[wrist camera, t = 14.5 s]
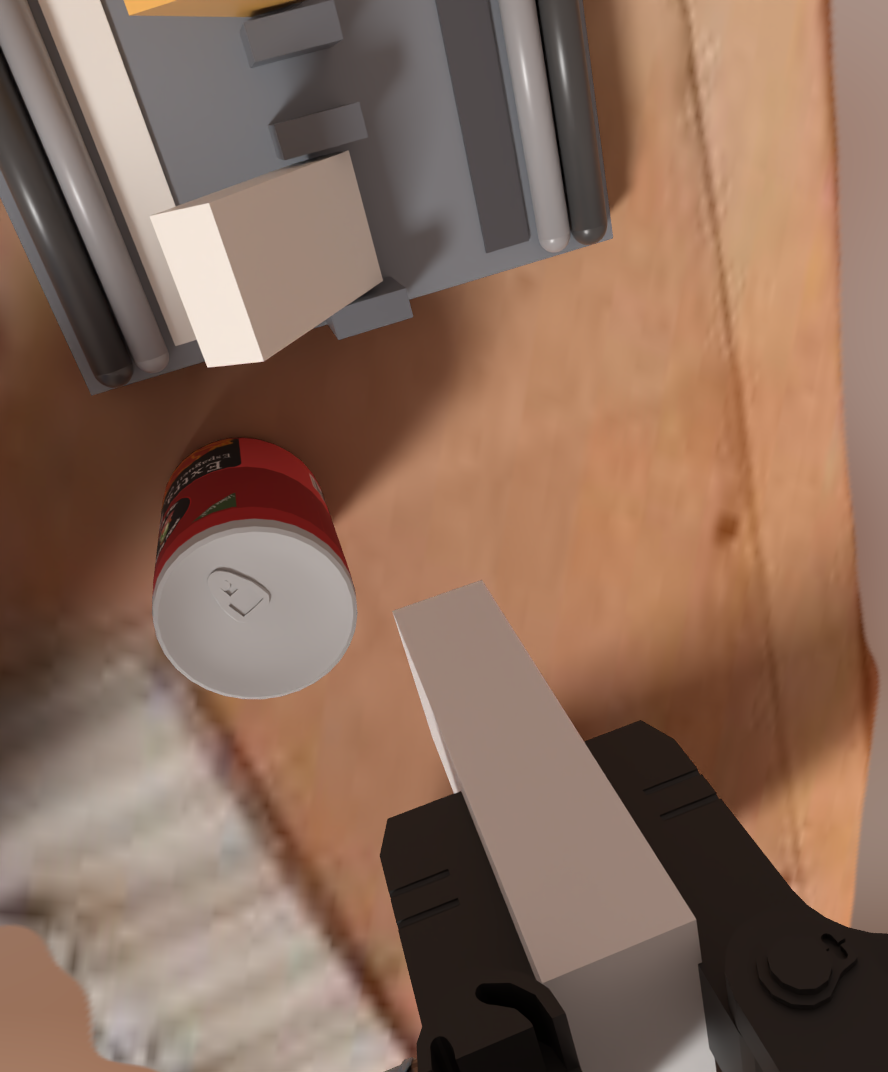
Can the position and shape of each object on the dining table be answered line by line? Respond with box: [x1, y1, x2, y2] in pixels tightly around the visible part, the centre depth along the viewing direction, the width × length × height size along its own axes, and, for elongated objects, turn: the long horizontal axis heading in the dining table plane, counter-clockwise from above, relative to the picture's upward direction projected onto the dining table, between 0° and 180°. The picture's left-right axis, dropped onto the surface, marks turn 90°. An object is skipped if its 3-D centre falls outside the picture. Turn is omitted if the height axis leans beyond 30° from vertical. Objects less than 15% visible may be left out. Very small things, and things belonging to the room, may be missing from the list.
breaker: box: [150, 150, 383, 368], centre depth 30 cm, size 5×2×10 cm
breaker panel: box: [0, 0, 613, 395], centre depth 32 cm, size 18×24×6 cm
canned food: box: [152, 438, 357, 699], centre depth 37 cm, size 8×8×11 cm
